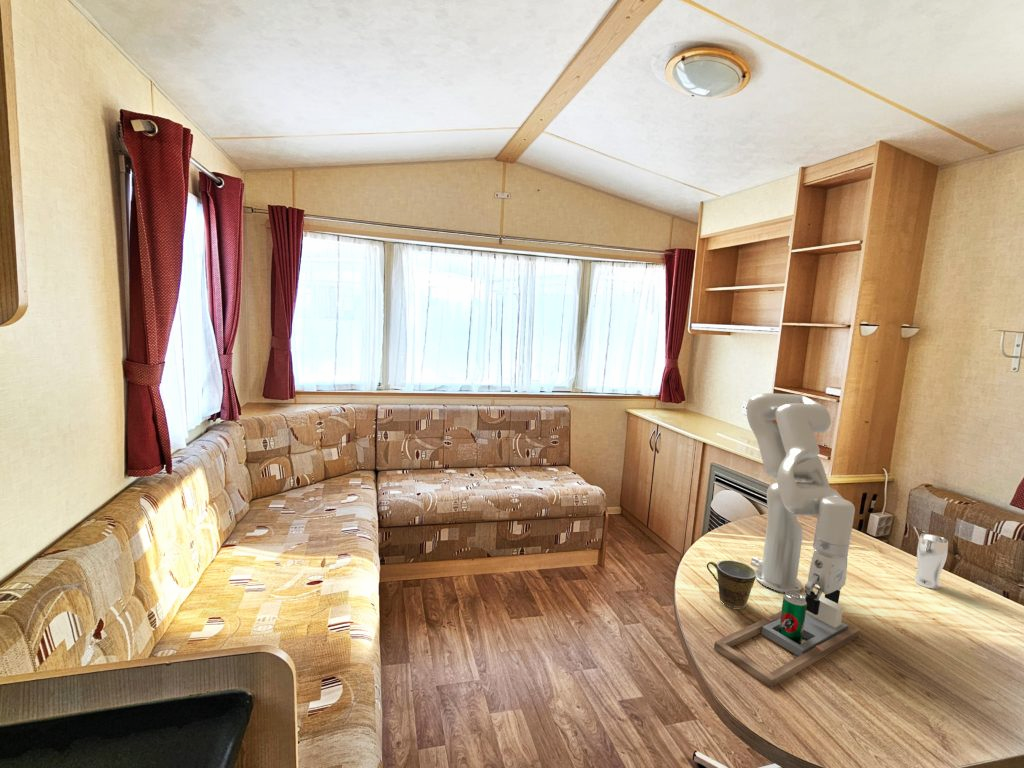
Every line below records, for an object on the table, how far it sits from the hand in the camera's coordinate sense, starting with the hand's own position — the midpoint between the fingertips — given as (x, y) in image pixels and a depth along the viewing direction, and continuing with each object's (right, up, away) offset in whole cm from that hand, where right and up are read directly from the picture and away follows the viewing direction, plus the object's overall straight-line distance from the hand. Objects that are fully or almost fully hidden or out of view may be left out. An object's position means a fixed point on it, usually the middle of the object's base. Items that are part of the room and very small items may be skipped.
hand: (821, 606), depth 128 cm
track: (-12, -5, -7) cm, 15 cm away
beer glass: (+48, -4, +24) cm, 54 cm away
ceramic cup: (-20, -3, +10) cm, 23 cm away
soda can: (-12, -6, -7) cm, 15 cm away
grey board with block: (-7, -5, -4) cm, 9 cm away
